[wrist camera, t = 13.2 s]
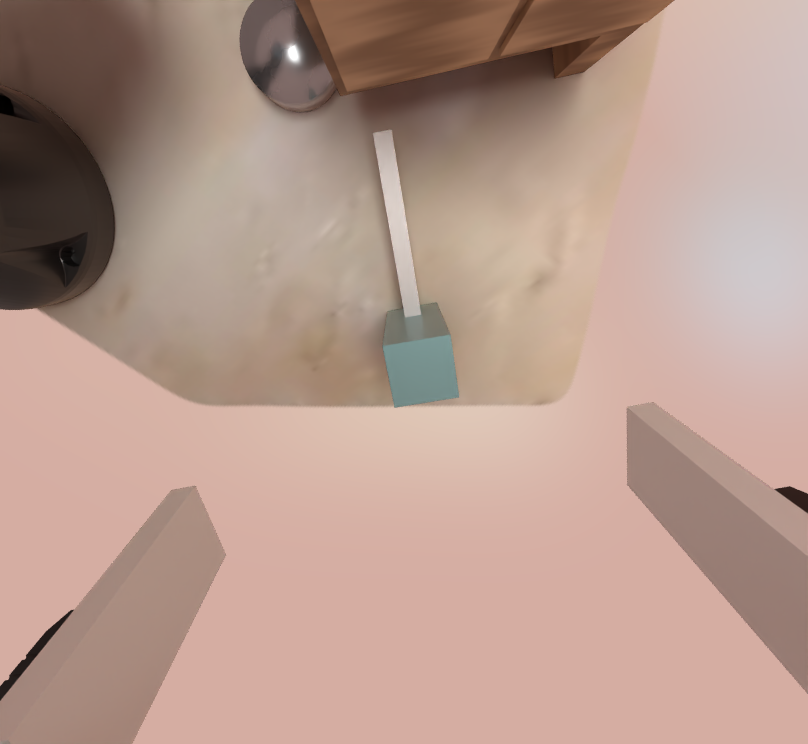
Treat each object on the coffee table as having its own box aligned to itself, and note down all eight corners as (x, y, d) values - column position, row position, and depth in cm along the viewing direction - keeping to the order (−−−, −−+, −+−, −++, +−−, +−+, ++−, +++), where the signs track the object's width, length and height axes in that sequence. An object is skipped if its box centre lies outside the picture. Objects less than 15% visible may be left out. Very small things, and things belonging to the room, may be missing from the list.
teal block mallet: (396, 357, 35) (394, 407, 26) (356, 146, 30) (336, 112, 20) (443, 349, 35) (459, 397, 26) (412, 135, 30) (417, 95, 20)
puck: (271, 123, 29) (260, 115, 27) (239, 22, 27) (224, 4, 25) (353, 99, 29) (349, 88, 27) (326, -6, 27) (319, -27, 25)
